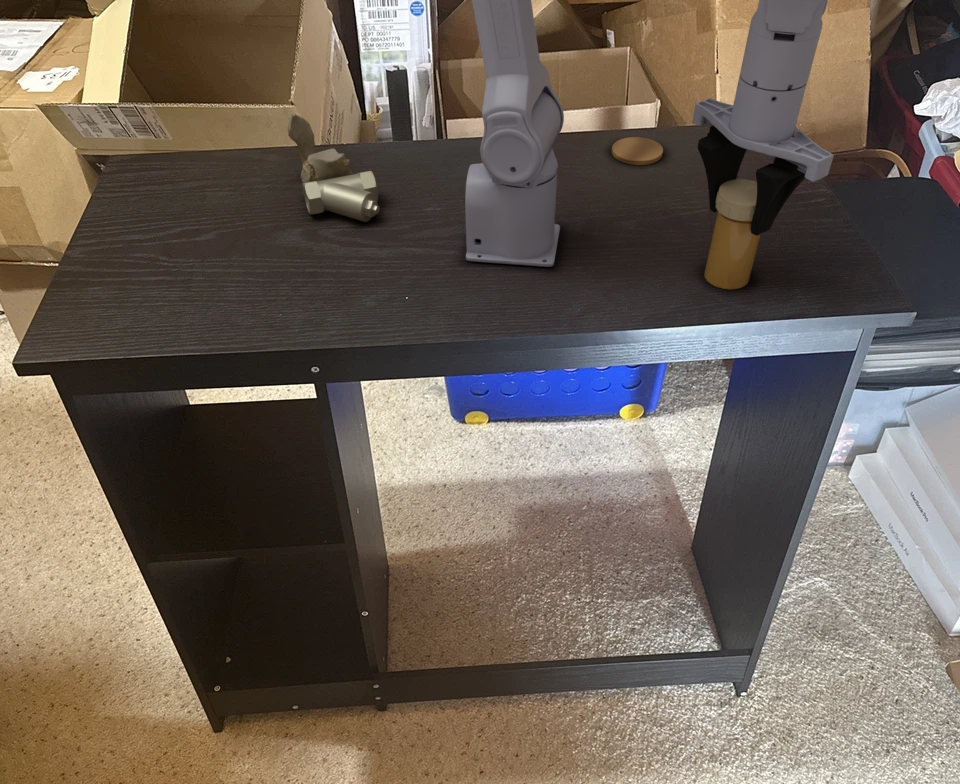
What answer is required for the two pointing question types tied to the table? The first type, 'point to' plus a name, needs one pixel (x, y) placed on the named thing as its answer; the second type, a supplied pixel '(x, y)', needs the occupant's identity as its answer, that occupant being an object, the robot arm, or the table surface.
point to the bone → (315, 154)
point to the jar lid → (737, 199)
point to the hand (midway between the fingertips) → (739, 219)
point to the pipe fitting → (344, 196)
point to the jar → (731, 253)
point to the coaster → (637, 151)
